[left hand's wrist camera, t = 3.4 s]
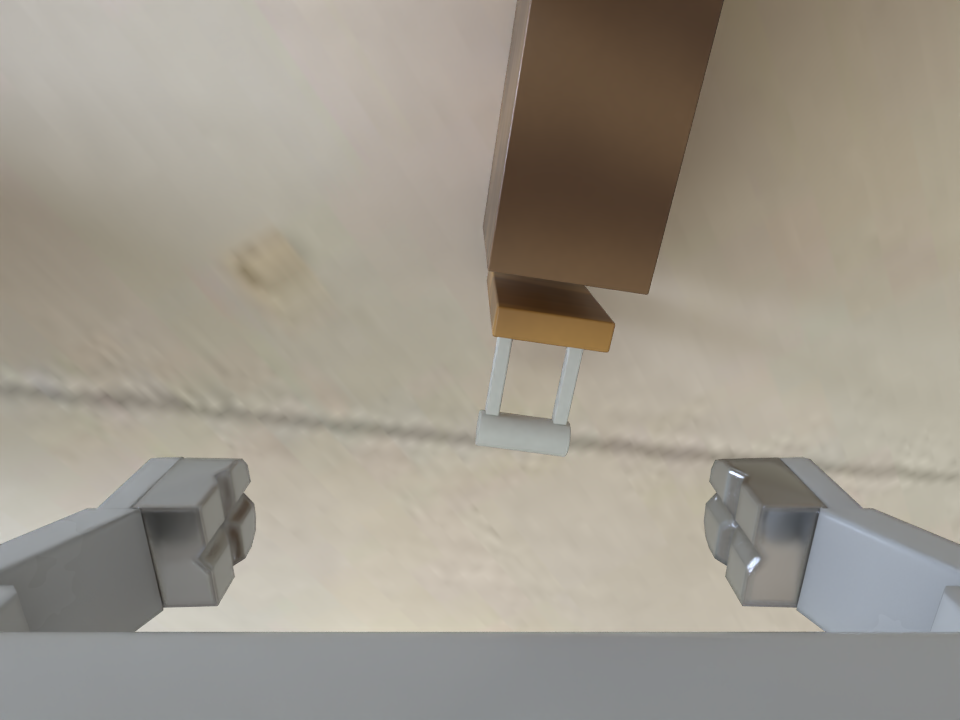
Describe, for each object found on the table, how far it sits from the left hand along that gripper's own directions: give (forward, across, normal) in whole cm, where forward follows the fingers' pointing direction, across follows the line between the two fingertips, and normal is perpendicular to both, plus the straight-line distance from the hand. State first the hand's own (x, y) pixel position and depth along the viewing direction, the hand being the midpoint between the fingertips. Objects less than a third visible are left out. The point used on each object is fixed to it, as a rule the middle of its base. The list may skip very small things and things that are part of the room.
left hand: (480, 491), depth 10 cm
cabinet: (+22, -4, -10) cm, 25 cm away
